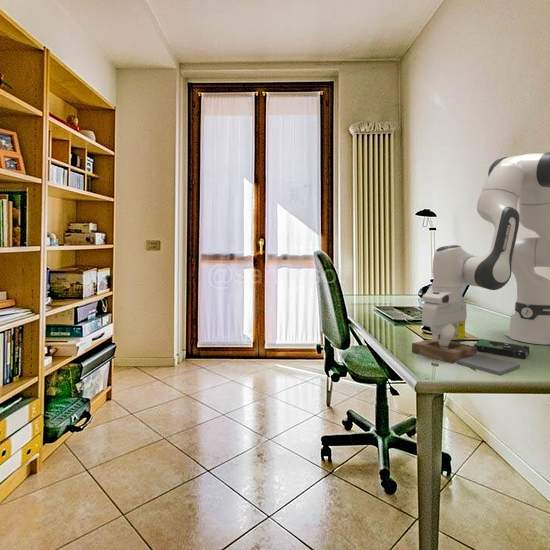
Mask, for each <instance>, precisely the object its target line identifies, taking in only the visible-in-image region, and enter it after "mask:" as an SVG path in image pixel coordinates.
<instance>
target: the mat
mask: <svg viewBox="0 0 550 550" xmlns="http://www.w3.org/2000/svg"><path fill="white" fill-rule="evenodd" d="M456 364H457V365H460V366H464V367H468V368H471V369H475V370H479V371H483V372H486V373H489V372H490V374H493V373H494V375H497V374H498V376H502V375H504V373H505V374H507V373H510V372H512V371H514V369H515V370H517V369H520V368H519V367H521V364H520V363H516V362H512V361H507V360H503V359H500V358H495V357H491V356H487V355H483V354H479V353H476V355H473V356H470V357H467V358H464V359H460V360H457V362H456ZM509 371H510V372H509Z"/></svg>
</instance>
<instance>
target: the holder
mask: <svg viewBox="0 0 550 550" xmlns="http://www.w3.org/2000/svg"><path fill="white" fill-rule="evenodd" d="M476 350H477V347H475V346H474V345H470V344H465V343H461V342H458V341H450V344H449V345H448V349H444V348H440V346H439V343H438V340H434V339H432V338H429V339H425V340H421V341H420V340H419V341H417V342H412V343H411V353H414V354H417V355H420V356H425V357H428V358H431V359H434V360H439V361H443V362H446V363H449V364H454V363H457V360H460V359H464V358H467V357H470V356H473V355H477V351H476Z"/></svg>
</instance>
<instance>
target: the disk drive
mask: <svg viewBox="0 0 550 550" xmlns="http://www.w3.org/2000/svg"><path fill="white" fill-rule="evenodd" d="M473 346H475V347H477V350H476V352H480V353H484V354H491V355H496V356H497V355H498V356H501V357H502V356H503V357H509V358H515V359H520V360H526V358H527V357H528V356H529V353H530V346H529V345H523V344H514V343H508V342H502V341H495V340H489V339H483V338H482V339H481V338H480V339H479V340H477V341H476V342H475V343H474V344H473ZM527 355H528V356H527Z"/></svg>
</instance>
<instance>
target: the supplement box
mask: <svg viewBox="0 0 550 550" xmlns="http://www.w3.org/2000/svg"><path fill="white" fill-rule="evenodd" d="M465 337H466V320H465V321H464V322H459V326H458V329H457V331H456V336H454V337H453V338H452V339H451V341H453V342H465Z"/></svg>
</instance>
